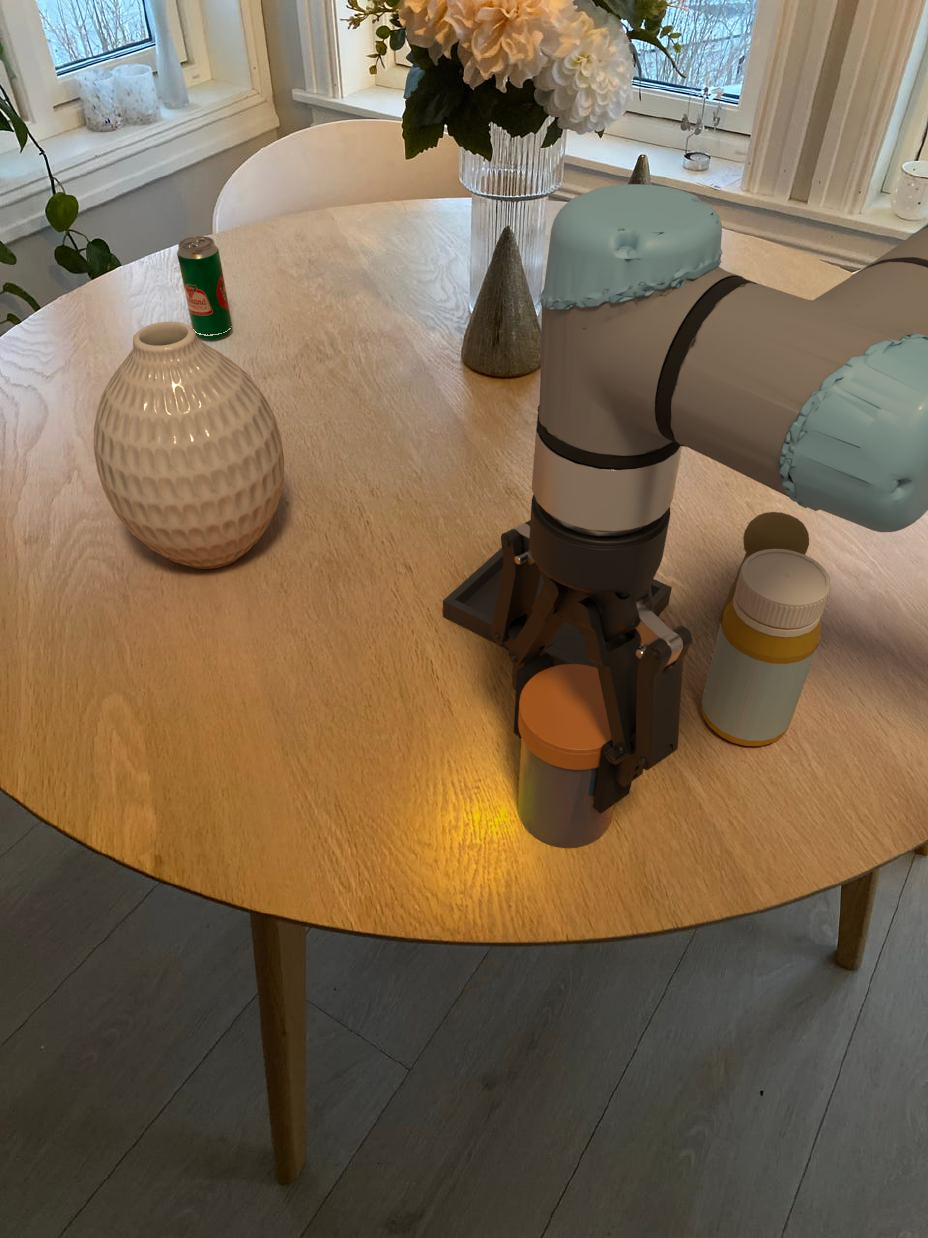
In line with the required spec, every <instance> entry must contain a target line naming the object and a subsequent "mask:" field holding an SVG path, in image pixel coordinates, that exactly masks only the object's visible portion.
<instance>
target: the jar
mask: <svg viewBox="0 0 928 1238" xmlns="http://www.w3.org/2000/svg"><path fill="white" fill-rule="evenodd" d="M520 740H521V742H520V754H519V755H520V759H519V775H518V790H517V792H518V793H517V812H518V813H517V814H518V816H519V819H520V821H521V824H522V825H523V826H524V828H525V829H526V831H527V832H528V833H529V834H530V835H531V836H533V837H534V838H535V839H537V840H538V841H540V842H542V843H544V844H545V845H548V846H550V847H551V846H552V847H556V848H561V849H574V848H576V849H577V848H581V847H585V846H588V845H590V844H592V843H594V842H596V841H597V840H599V839H600V838H601V837H602V836H603V835H604V834H605V833H606V832H607V831H608V829H609V827H610V825H611V823H612V819H613V814H614V808H615V804H614V805H613V806H611V807H610V808H608V809H607V810H606V811H604V812H603V813H601V814H600V813H599V812H598V811H597V810H596V809H595V808H594V807H593V803H594V797H595V790H596V784H597V777H598V771H599V767H597V768H593V769H587V770H571V769H565V768H561V767H557V766H554V765H551V764H549V763H547V762H545V761H543V760H542V759H540V758H538V757H537V756H536V755H535V754H533V753H532V752H531V751H530V750H529V748H528V747H527V746H526V745H525V743H524V741H523V740H522V738H521V739H520Z"/></svg>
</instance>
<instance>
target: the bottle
mask: <svg viewBox="0 0 928 1238" xmlns="http://www.w3.org/2000/svg"><path fill="white" fill-rule="evenodd" d="M831 586H832V584H831V577H830V574H829V573H828V571H827V570H826V569H825V568H824V567H823V566H822V564H821V563H819V562H818V561H816V560H815V559H814V558H812V557H810V556H808V555H806V554H805V555H804V554H801V553H798V552H795V551H791V550H785V549H767V550H762V551H759V552H756V553H754V554H752V555H750V556H749V557H748V558H747V559H746V560H745V562H744V563H743V565H742V566H741V570H740V574H739V577H738V581H737V585H736V591H735V594H734V598H733V600H732V601H731V602H730V603H729V604H728V605H727V607H726V608H725V611H724V614H723V617H722V621H721V624H720V625H719V630H718V633H717V638H716V640H715V645H714V649H713V653H712V657H711V661H710V665H709V669H708V673H707V676H706V677H707V678H706V681H705V685H704V689H703V693H702V697H701V704H700V711H701V715H702V717H703V719H704V721H705V722H706V724H707V726H708V727H709V728H710V729H711V730H712V731H714V732H715V733H716V734H717V735H718V736H719V737H721V738H722V739H724V740H725V741H728V742H730V743H732V744H735V745H739V746H743V747H761V746H762V747H763V746H765V745H770V744H773V743H775V742H776V741H779V740H780V739H781V738H783V736H784V735H786V733H787V731H788V730H789V727H790V726H791V723H792V721H793V717H794V715H795V712H796V708H797V706H798V703H799V701H800V698H801V695H802V691H803V689H804V686H805V683H806V680H807V679H808V675H809V672H810V669H811V667H812V664H813V661H814V658H815V656H816V652H817V649H818V647H819V644H820V643H819V642H820V640H821V633H822V630H821V623H820V621H821V620H820V619H821V617H822V614H823V613H824V610H825V608H826V604H827V602H828V599H829V595H830V593H831V589H832V587H831Z"/></svg>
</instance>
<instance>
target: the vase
mask: <svg viewBox="0 0 928 1238" xmlns="http://www.w3.org/2000/svg"><path fill="white" fill-rule="evenodd" d="M93 451H94V452H93V454H94V459H95V464H96V469H97V470H96V471H97V475H98V478H99V480H100V484H101V486H102V489H103V492H104V494H105V496H106V498H107V500H108V503H109V504H110V506H111V508H112V510H113V511H114V514H115V515H116V516H117V518H118V519H119V520H120V521H121V522H122V523H123V525H124V526H125V527H126V528H127V529H128V531H129V532H130V533H131V534H132V535H133V536H134V537H135V538H136V539H138V540H139V541H140V542H141V543H143V544H144V545H145V546H147V547H148V548H149V549H150V550H152V551H153V552H155V553H157V554H159V555H160V556H162V557H163V558H165V559H168V560H169V561H172V562H175V563H177V564H180V565H183V566H185V567H189V568H194V569H200V570H212V569H219V568H223V567H225V566H228V565H230V564H232V563H234V562H236V561H237V560H239V559H241V558H242V557H243V556H244V555H245V554H246V553H248V552H249V551H250V550H251V548H253V547H254V546H255V545H256V544H257V543H258V542H259V540H260V539H261V537H263V534H264V533H265V532H266V530H267V529H268V527H269V526H270V524H271V521H272V520H273V517H274V515H275V513H276V511H277V509H278V507H279V504H280V501H281V500H280V499H281V495H282V492H283V487H284V480H285V455H284V450H283V441H282V437H281V433H280V430H279V426H278V422H277V420H276V416H275V415H274V412H273V410H272V408H271V406H270V404H269V402H268V400H267V398H266V396H264V394H263V392H262V391H261V390H260V388H259V387H258V385H257V384H256V382H255V381H254V380H253V379H252V378H251V377H250V376H249V374H248V373H247V372H246V371H245V370H244V369H243V368H241V367H240V366H239V365H238V364H237V363H235V362H234V361H233V360H232V359H230V358H229V357H227V356H226V355H224V354H223V353H221V352H220V351H218V350H216V349H215V348H213V347H212V346H210V345H208V344H206V343H205V342H203V340H202V341H201V339H200V338H198V337H197V336H196V333H195V331H194V330H193V328H192V326H190V325H188V324H186V323H184V322H179V321H161V322H155V323H152V324H148V325H146V326H144V327H142V328H141V329H139V330H138V331H136V333H135V334H134V335H133V337H132V349H131V351H130V352H129V353H128V355H127V357H125V359H124V360H123V362H122V363H121V364H120V365H119V366H118V368H117V369H116V371H115V372H114V373H113V375H111V377H110V379H109V381H108V383H107V384H106V386H105V388H104V390H103V392H102V394H101V396H100V399H99V402H98V406H97V409H96V415H95V420H94V426H93Z"/></svg>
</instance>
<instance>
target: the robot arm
mask: <svg viewBox="0 0 928 1238" xmlns="http://www.w3.org/2000/svg"><path fill="white" fill-rule="evenodd" d="M722 235H723V226H722V221H721V217H720V215H719V213H718V211H717V210H715V208H713V207H712V206H711V205H710V204H708V203H704V202H703V201H702V200H701V199H700V198H699V197H698V196H697V195H695V194H693V193H691V192H687V191H685V190H681V189H677V188H673V187H668V186H663V185H655V184H641V183H640V184H639V183H638V184H637V183H635V184H633V183H631V184H630V183H629V184H627V183H625V184H614V185H613V184H612V185H608V186H600V187H598V188H595V189H592V190H589V191H587V192H585V193H583V194H580V195H577V196H575V197H573V198H571V199H570V200H568V201H567V202H566V203H565V204H564V205H563V206H562V207H561V208H560V209H559V211H558V212H557V214H556V216H555V218H554V219H553V222H552V225H551V229H550V235H549V243H548V254H547V260H546V267H545V268H546V269H545V277H544V283H543V284H544V285H543V290H542V291H541V293H540V295H539V298H540V299H539V303H540V305H541V318H540V319H541V320H540V321H541V322H540V323H541V325H540V326H541V327H540V376H539V377H540V379H539V380H540V381H539V382H540V383H539V404H538V406H537V418H536V429H535V440H534V453H533V466H532V478H531V490H532V493H533V495H532V497H531V503H530V504H531V506H530V519H529V520H528V521H526V522H523V523H521V524H518V525H517V526H515V527H513V528H511V529H509V530H507V531H505V532H504V533H501V534H500V544H501V548H502V553H503V568H502V574H501V579H500V585H499V590H498V596H497V602H496V607H495V613H494V618H493V624H492V630H491V634H492V637H493V639H494V640H495V642H496V643H498V644H502V643H505V644H506V646H507V647H508V648H509V650H508V651H507V656H508V659H509V660H510V662H511V664H512V666H511V667H512V668H511V672H512V673H511V685H512V690H514V691H515V698H514V699H515V700H514V701H515V702H514V717H513V734H514V735H516V737H518V738H519V739H520V740H521V735H520V732H519V727H518V718H519V700H520V695H521V692H522V690H523V688H524V686H525V685H526V683H527V682H528V681H529V680H530V679H531V678H532V677H533V676H535V675H536V674H538V673H539V672H541V671H543V670H545V669H547V668H550V667H553V666H554V658H552V657H551V656H550V655H549V654H548V653H546V654H544V655H542V656H541V657H540V652H542V651H544V650H545V649H547V648H549V647H550V646H552V645H554V644H553V643H552V644H549V643H550V642H551V641H552V639H553V638H554V636H555V635H556V633H557V632H558V630H559V629H560V628H561V626H562V625H563V623H564V622H567V623H569V624H571V625H573V626H575V627H576V628H577V630H578V631H579V632H580V633H581V634H582V635H583V636H584V640H585V645H586V650H587V655H588V658H589V660H590V661H592V662H595V663H596V665H597V670H598V674H599V679H600V684H601V689H602V694H603V699H604V703H605V708H606V713H607V718H608V723H609V728H610V733H611V737H612V739H611V740H610V741H608V742H607V743H605V744H604V745H602V751H601V758H600V764H599V771H598V777H597V784H596V790H595V797H594V803H593V807H594V808H595V809H596V810H597V811H598V812H599V813H600V814H601V813H603V812H604V811H606V810H607V809H608V808H610V807H611V806H613V805H614V806H615V805H616V804H617V803H618V802H620V801H621V800H622V799H624V798H626V797H627V796H628V795H630V792H631V787H632V782H634V781H636V780H637V779H639V778H640V777H641V775H643V772H644V771H649V770H651V769H652V768H653V767H655V766H657V765H658V764H660V763H661V762H662V761H664V760H665V759H666V758H668V757H669V756H671V755H672V754H673V753H675V752H676V751H677V750H678V748H679V734H680V717H681V699H682V682H683V681H682V680H683V666H684V665H683V663H684V659H685V657H686V655H687V653H688V651H689V649H690V647H691V645H692V644H693V640H694V639H693V635H692V632H691V630H689V628H688V627H686V626H685V625H681V624H680V625H677V626H675V627H674V628H673V629H672V628H669V626H668V625H666V623H665V622H663V621H662V619H660V618H659V616H658V617H657V616H656V615H655V614H654V613H653V612H654V601H653V598H652V593H651V583H652V581H653V579H654V578H655V576H656V574H657V572H658V571H659V568H660V566H661V563H662V560H663V557H664V553H665V546H666V541H667V535H668V530H669V525H670V520H671V519H670V518H671V504H672V502H673V500H674V494H675V489H676V485H677V484H676V482H677V478H678V472H679V467H680V460H681V455H682V450H683V449H682V448H684V447H685V448H688V449H689V450H692V451H694V452H696V453H698V454H701V455H703V456H705V457H706V458H709V459H711V460H713V461H715V462H717V463H719V464H720V465H723V466H725V467H727V468H730V469H731V470H733V471H735V472H737V473H739V474H742V475H743V476H745V477H747V478H749V479H751V480H753V481H755V482H757V483H759V484H761V485H763V486H765V487H768V488H769V489H771V490H774V491H776V492H777V493H779V494H782V495H783V496H786V497H788V499H790V500H791V501H792V502H794V503H797V505H798V506H800V507H802V508H804V509H807V508H808V509H810V510H811V511H813V512H814V511H815V512H817V511H822V512H825V513H827V514H830V515H833V516H835V517H838V518H840V519H843V520H845V521H848V522H851V523H853V524H856V525H858V526H859V527H863V528H865V529H868V530H870V531H873V532H877V533H895V532H899V531H902V530H905V529H906V528H909V526H912V525H913V524H915V523H916V522H917V521H918V520H920V518H922V517H923V516H924V515H925V514H926V513H927V511H928V222H927V223H926V224H924V225H923V226H922V227H921V228H920V229H918V230H917V231H915V232H913V233H911V235H909V236H908V237H907V238H906V239H904V241H903V242H901V243H900V244H898V245H896V246H895V247H893V248H891V249H890V250H889V251H887V252H886V253H884V254H882V255H881V256H880V257H878V258H877V259H875V260H874V261H873V262H871V263H869V264H868V265H866V266H864V267H863V268H861V269H860V270H858V271H857V272H855V273H853V274H852V275H850V277H848V278H846V279H845V280H843V281H841V282H840V283H838V284H837V285H835V286H833V287H832V288H830V289H828V290H827V291H825V292H824V293H822V294H820V295H819V296H817V297H816V298H814V299H808V298H804V297H802V296H798V295H795V294H792V293H788V292H785V291H782V290H780V289H776V288H774V287H771V286H768V285H764V284H761V283H758V282H756V281H753V280H749V279H747V278H745V277H743V276H742V275H738V274H736V273H733V272H730V271H728V270H726V269H724V268H722V267H721V266H720V265H721V263H722V259H721V258H722V255H723V254H724V253H723V250H722V237H723V236H722ZM540 576H542V578H543V581H544V584H543V586H542V587H541V589H542V591H541V592H540V594H539V596H538V597H537V599H536V601H535V598H536V594H537V590H538V585H539V581H540ZM496 643H495V644H496ZM498 644H497V645H498Z"/></svg>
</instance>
